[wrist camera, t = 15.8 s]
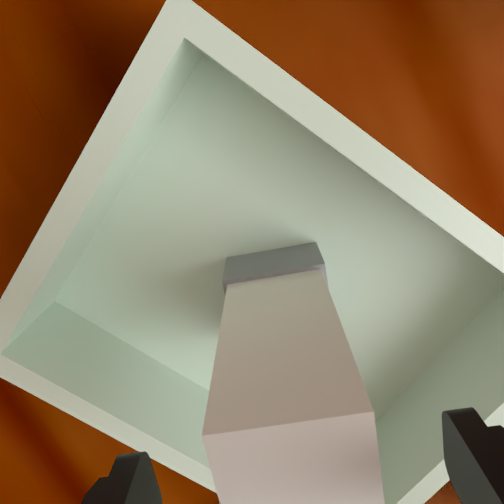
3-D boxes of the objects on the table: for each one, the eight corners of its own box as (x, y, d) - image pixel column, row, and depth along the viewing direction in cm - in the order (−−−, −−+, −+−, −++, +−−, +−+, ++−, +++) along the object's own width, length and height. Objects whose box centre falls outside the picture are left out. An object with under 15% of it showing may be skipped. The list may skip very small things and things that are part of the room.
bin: (528, 268, 23) (618, 324, 17) (334, 469, 27) (354, 567, 21) (198, 20, 19) (173, -14, 14) (37, 296, 24) (-34, 359, 18)
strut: (316, 242, 21) (382, 403, 10) (327, 322, 23) (397, 544, 11) (226, 257, 22) (191, 430, 10) (243, 335, 23) (229, 564, 12)
